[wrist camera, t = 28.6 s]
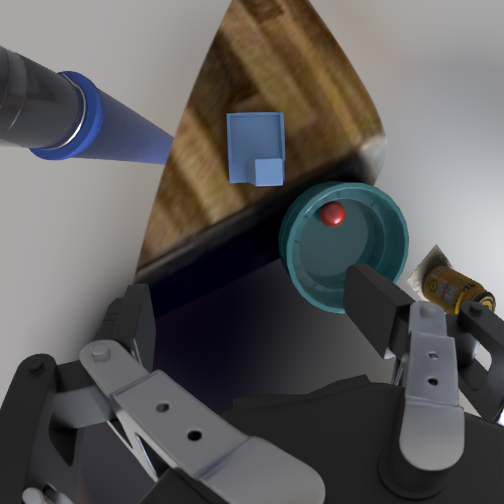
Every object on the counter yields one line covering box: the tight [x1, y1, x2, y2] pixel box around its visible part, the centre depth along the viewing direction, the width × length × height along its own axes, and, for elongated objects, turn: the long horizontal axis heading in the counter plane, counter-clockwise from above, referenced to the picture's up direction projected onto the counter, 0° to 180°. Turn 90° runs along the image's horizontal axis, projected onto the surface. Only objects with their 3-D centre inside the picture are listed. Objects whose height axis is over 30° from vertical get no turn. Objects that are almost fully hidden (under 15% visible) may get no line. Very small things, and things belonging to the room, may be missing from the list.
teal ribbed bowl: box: [278, 181, 409, 313], centre depth 38 cm, size 15×15×6 cm
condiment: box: [407, 245, 496, 314], centre depth 38 cm, size 7×8×12 cm
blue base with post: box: [226, 112, 285, 186], centre depth 32 cm, size 8×7×11 cm
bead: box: [319, 201, 345, 227], centre depth 38 cm, size 3×3×3 cm
